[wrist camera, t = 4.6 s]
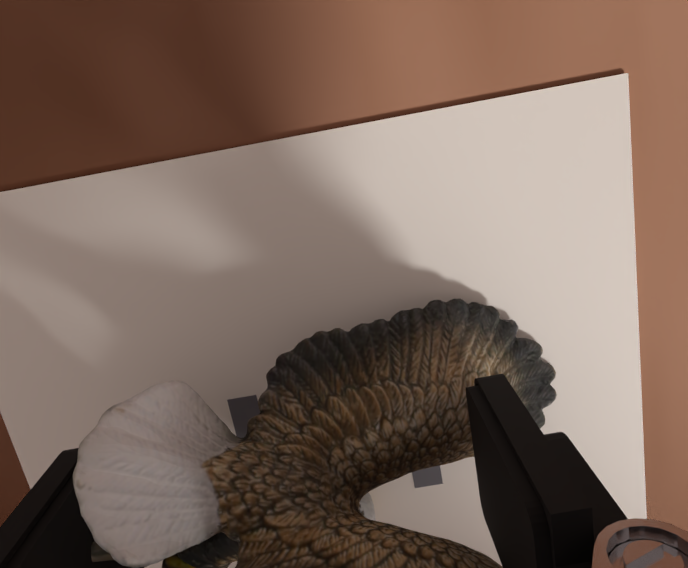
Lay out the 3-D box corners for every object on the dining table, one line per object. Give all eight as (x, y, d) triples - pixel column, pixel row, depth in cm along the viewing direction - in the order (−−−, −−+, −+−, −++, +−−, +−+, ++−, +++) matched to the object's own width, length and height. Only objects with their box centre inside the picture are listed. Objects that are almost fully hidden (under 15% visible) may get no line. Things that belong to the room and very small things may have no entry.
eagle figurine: (250, 673, 14) (638, 653, 12) (4, 892, 7) (783, 941, 5) (224, 369, 16) (547, 304, 14) (18, 329, 10) (568, 193, 7)
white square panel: (626, 73, 11) (628, 72, 11) (649, 615, 15) (651, 618, 15) (-77, 207, 12) (-81, 207, 12) (112, 695, 16) (111, 698, 16)
